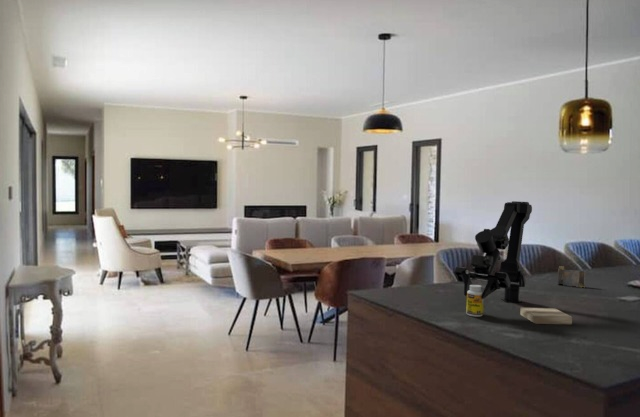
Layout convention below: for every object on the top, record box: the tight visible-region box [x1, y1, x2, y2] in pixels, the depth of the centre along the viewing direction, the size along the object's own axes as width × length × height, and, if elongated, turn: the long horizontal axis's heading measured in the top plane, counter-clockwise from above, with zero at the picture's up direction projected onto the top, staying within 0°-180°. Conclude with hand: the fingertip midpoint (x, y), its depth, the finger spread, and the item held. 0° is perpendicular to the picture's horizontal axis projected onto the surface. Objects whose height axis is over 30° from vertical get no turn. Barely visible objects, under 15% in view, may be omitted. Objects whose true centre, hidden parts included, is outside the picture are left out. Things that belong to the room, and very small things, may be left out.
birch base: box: [519, 307, 573, 325], centre depth 175 cm, size 12×12×2 cm
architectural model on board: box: [557, 265, 586, 289], centre depth 241 cm, size 11×3×10 cm, turn 64°
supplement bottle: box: [465, 284, 485, 318], centre depth 178 cm, size 6×6×10 cm
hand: (473, 296), depth 176 cm, fingers open, 6 cm apart
